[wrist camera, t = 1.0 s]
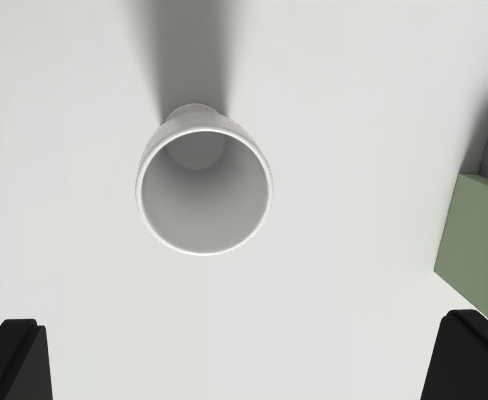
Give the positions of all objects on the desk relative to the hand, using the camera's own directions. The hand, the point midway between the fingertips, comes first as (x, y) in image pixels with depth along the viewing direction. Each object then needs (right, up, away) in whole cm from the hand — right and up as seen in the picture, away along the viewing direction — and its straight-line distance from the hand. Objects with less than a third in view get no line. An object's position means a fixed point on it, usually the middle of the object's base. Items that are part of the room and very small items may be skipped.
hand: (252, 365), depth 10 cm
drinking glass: (-4, +9, +24) cm, 26 cm away
